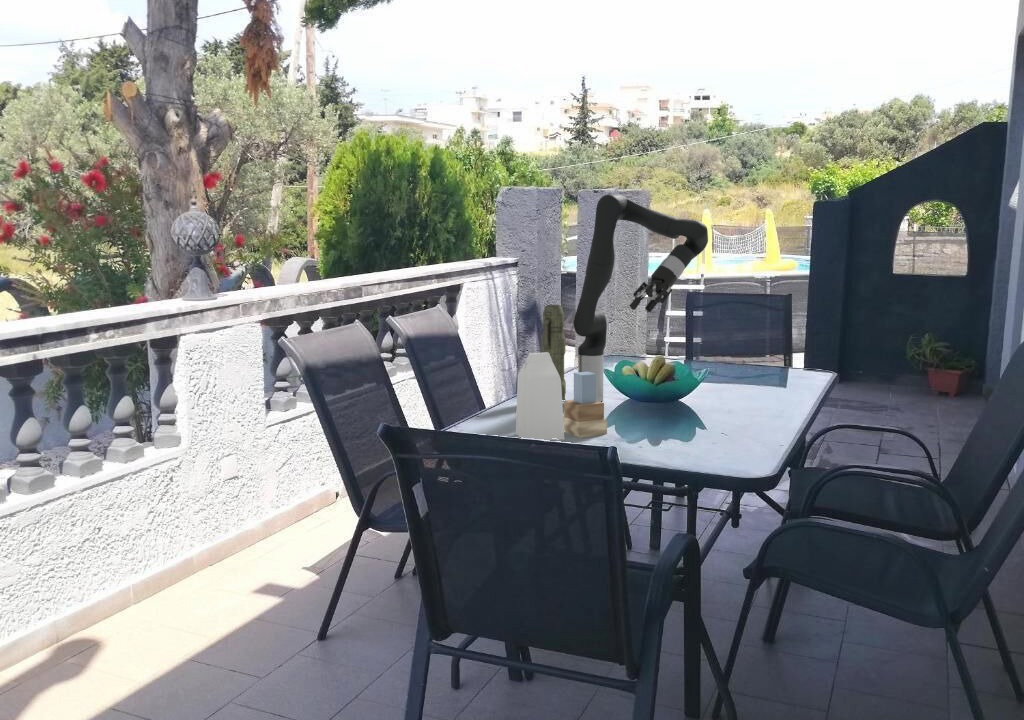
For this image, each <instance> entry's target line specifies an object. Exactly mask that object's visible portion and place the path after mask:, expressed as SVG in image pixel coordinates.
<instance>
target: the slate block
mask: <svg viewBox="0 0 1024 720" xmlns="http://www.w3.org/2000/svg"><path fill="white" fill-rule="evenodd" d="M573 400H574V402H577V403H580V404H588V403H596V374H595V373H591V372H578V371H577V372H573Z"/></svg>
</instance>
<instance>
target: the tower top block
mask: <svg viewBox="0 0 1024 720" xmlns="http://www.w3.org/2000/svg"><path fill="white" fill-rule="evenodd" d="M563 403H564V404H563V416H564V417H567V418H570V419H572V420H575V421H577V422H583V421H591V420H599V419H604V418H605V403H604V402H603V401H602V402H599V401H596V403H588V404H580V403H577V402H574V399H569V400H565V401H563Z"/></svg>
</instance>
